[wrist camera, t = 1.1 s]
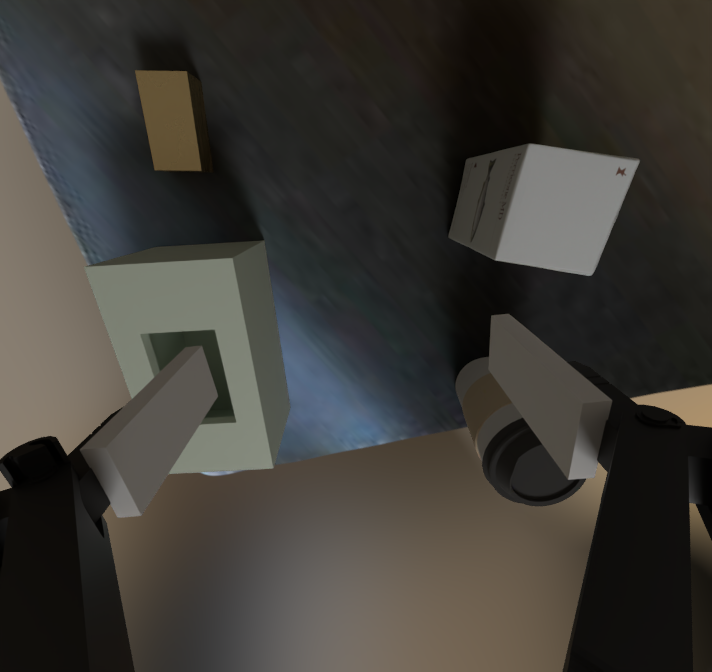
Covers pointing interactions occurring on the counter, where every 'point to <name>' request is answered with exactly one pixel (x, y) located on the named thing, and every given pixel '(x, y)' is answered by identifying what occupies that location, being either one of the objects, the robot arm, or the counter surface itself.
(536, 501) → the coffee cup
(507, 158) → the supplement box
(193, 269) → the grey box with slot
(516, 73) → the counter surface
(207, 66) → the counter surface
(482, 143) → the counter surface
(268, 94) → the counter surface
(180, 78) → the tan wooden block
